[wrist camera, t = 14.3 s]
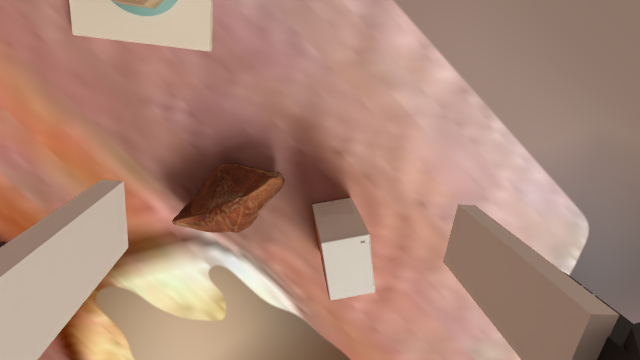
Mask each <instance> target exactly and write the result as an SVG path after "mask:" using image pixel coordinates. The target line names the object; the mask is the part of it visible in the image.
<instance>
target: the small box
mask: <svg viewBox="0 0 640 360" xmlns="http://www.w3.org/2000/svg"><path fill="white" fill-rule="evenodd" d="M312 208H313V213H314V219H315V225H316V231H317V237H318V244H319V250H320V255H321V260H322V265H323V271H324V276H325V281H326V286H327V291H328V295H329V300H334V299H340V298H346V297H351V296H357V295H362V294H368V293H373V292H375V291H376V289H375V284H374V276H373V266H372V256H371V245H370V233H369V231H368V229H367V227H366V225H365V223H364V221H363V219H362V217H361V215H360V213H359V211H358V209H357V208H356V206H355V204H354V202H353V200H352V198H346V199H340V200H335V201H329V202H323V203H317V204H312Z"/></svg>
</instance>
